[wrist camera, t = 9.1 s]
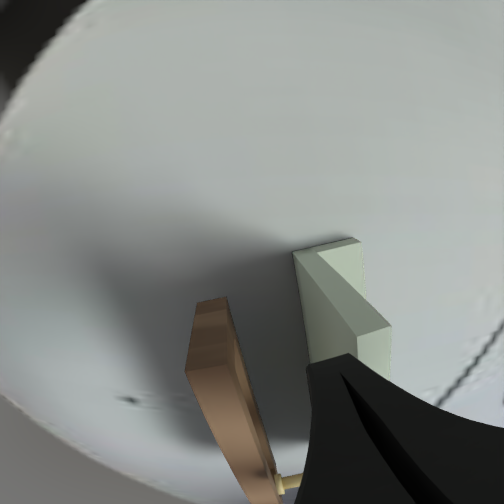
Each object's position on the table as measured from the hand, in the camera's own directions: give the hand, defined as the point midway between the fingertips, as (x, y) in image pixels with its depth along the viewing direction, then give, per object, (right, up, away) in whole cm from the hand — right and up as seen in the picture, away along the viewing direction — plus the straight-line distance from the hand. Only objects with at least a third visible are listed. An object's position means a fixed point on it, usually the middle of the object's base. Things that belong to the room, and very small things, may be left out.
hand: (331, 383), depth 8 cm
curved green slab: (+2, -4, +12) cm, 13 cm away
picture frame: (-3, -6, +10) cm, 12 cm away
